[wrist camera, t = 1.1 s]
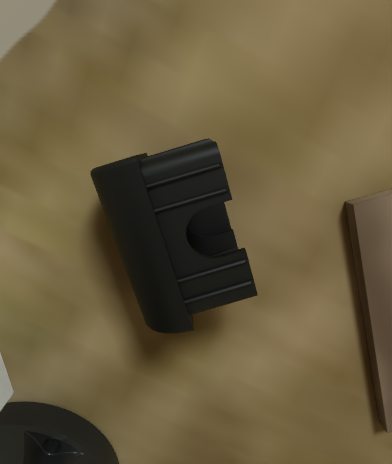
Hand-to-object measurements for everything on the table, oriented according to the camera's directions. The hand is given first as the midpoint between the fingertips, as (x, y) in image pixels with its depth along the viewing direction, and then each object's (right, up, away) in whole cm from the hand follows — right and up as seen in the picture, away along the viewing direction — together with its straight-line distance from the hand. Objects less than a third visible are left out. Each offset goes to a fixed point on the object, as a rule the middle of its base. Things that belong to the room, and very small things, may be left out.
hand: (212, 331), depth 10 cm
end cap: (-2, +4, +14) cm, 15 cm away
